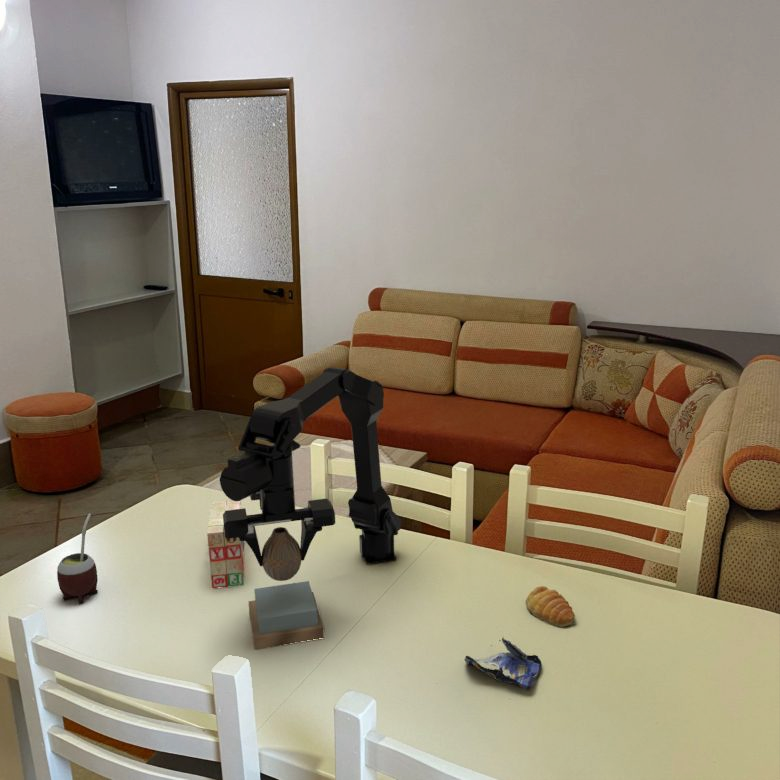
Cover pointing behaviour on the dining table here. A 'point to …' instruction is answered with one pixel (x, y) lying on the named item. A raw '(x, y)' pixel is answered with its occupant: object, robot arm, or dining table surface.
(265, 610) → the tower top
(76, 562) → the mate gourd
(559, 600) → the pastry
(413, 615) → the dining table surface
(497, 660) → the snack package
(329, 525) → the robot arm
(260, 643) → the tower base
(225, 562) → the stack of blocks
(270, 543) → the vase
